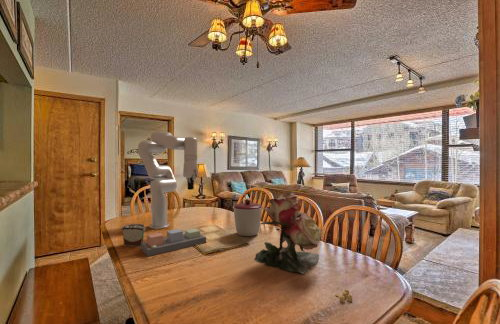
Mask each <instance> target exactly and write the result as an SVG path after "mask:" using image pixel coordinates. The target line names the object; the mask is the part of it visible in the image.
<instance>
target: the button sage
mask: <svg viewBox="0 0 500 324" xmlns="http://www.w3.org/2000/svg"><path fill="white" fill-rule="evenodd" d="M184 234H185V237H187V238H188V239H192V238H197V237H200V234H201V230H199V229H197V228H190V229H185V230H184Z"/></svg>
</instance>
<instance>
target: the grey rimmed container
mask: <svg viewBox="0 0 500 324" xmlns="http://www.w3.org/2000/svg"><path fill="white" fill-rule="evenodd" d="M121 231H122V239H123V246H124V247H141V243H143V242H144V237H145V231H146V226H145V224H144V223H133V224H131V223H130V224H126V225H122V226H121Z"/></svg>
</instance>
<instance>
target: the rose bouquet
mask: <svg viewBox="0 0 500 324" xmlns="http://www.w3.org/2000/svg"><path fill="white" fill-rule="evenodd" d="M299 201H300V198H298V196H297V195H296V194H295V193H294V192H290V191H288V192H285V193H283V194H280V195H279V197H276V196H273V198H270V199H269V200H268V202H269V204H270V206H267V207H263V210H265V212H266V215H267V216H268V218H269V219H270V220H271V221H264V222H260V225H272V226H273V225H276V224H277V225H279V226H280V227H279V228H278V227H277V228H276V229H275V230H276V231H280V236H279V247H277V246H276V245H275V244H272V243H271V242H268V241H264V242H263V244H264V245H265V248H263V249H261V250H260V251H259V252H257V253H255V257H254V258H253V259H254V261H255V262H257V263H259V264H261V265H264V266H268V267H272V268H274V269H276V268H278V269H281V270H283V271H284V270H285V271H286V272H287V271H288V272H291V273H299V274H301V275H305V274H306V273H307V272H311V270H310V268H309V267H310V266H316V265H317V263H318V262H319V259H320V258H319V257H320V254H318V253H312V252H309V251H308V250H313V249H315V248H317V247H318V245H319V242H320V240H321V235H322V233H323V229H322V228H320V227H318V225H317V224H316V221H315V220H314V219H313V217H311V216H309V214H308V213H305V212H302V211H300V210H299V209H300V206H299V205H298V204H299ZM284 242H286V243H287V246H285V247H284V246H283V243H284ZM296 246H299V249H300V250H301V251H296ZM305 250H306V251H305Z"/></svg>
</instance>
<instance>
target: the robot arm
mask: <svg viewBox="0 0 500 324" xmlns="http://www.w3.org/2000/svg"><path fill="white" fill-rule="evenodd" d="M150 139H151V140H149V139H148V140H142V141H140V142H139V143H138V145H137V153H138V156H139V157H140V159H141V161H142V163H143V165H144V168H145V170H146V173H147V175H148V177H149V179H151V180H152V181H151V182H150V183H149V187H150V188H149V189H150V195H151V223H150V224H149V227H148V228H150V229H153V230H157V229H158V230H159V229H166V228H168V227H170V223H169V222H168V199H167V196H166V194H165V193H171V192H172V193H173V192H175V191H176V189H177V188H178V185H177V181H176V178H175V175H174V173H173V170H172V169H171V167H170V166H169V165H166V164H164V165H163V164H159V163H158V160H157V158H156V157H155V156H154V155H153V154H162V153H164V152H165V151H166V150H167V149H169V150H175V151H177V150H179V151H183V161H184V162H183V169H182V170H183V171H182V172H183V173H182V176H183V177H184V178H185V179H186V182H187V190H188V191H190V190H191V191H192V190H194V189H195V184H194V183H195V180H196V178H197V177H198V138H196V137H193V136H192V137H191V136H188V137H187V136H186V137H179V136H174V135H173V134H172V133H171V132H169V131H161V130H156V131H152V133H151V134H150Z"/></svg>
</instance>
